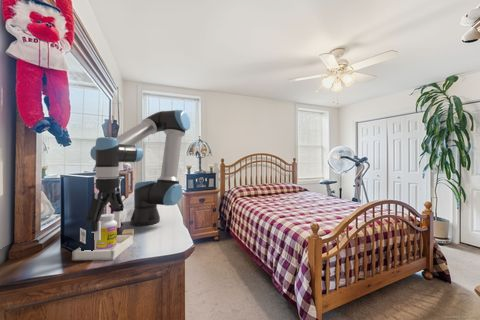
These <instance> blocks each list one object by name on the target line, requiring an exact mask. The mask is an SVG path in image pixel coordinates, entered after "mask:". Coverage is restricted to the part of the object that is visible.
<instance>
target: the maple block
mask: <svg viewBox="0 0 480 320" xmlns="http://www.w3.org/2000/svg"><path fill="white" fill-rule="evenodd" d="M134 234H135V229H134V228H131V229H123V230H122V232H121V235H134ZM134 236H135V235H134Z"/></svg>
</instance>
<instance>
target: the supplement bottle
mask: <svg viewBox="0 0 480 320" xmlns="http://www.w3.org/2000/svg"><path fill="white" fill-rule="evenodd" d="M99 221H101V240H96V250H112V249H114V248H115V247H116V243H117V234H118V233H117V222H116V221H115V220H114V214H110V213H102V215H101V217H100V219H99Z"/></svg>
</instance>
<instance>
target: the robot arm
mask: <svg viewBox="0 0 480 320" xmlns="http://www.w3.org/2000/svg"><path fill="white" fill-rule="evenodd" d="M190 128H191V121H190V117H189V115H188V113H187V112H186V111H184V110H183V109H175V110H161V111H158V112H157V111H156V112H155V113H153V114H151V115H149V116H147V117H146V118H144V119H142V121H141V122H140V123H139V124H137V125H135V126H133V127H132V128H130V129H128V130H127V131H125V132H123V133H121V134H119V135H118V136H116V137H106V136H105V137H103V136H102V137H101V136H100V137H97V138H96V140H95V145H94V146H92V147H91V149H90V152H89V153H90V157H91V158H92V160H93V161H95V189H97V190H98V192H93V193H92V197H91V202H90V206H89V209H88V213H87V217H86V219H85V221H86V223H90V230H91V233H94V240H101V220H100V217H101V215H103V212H104V209H105V208H106V206H107V205H108V203H110V204H111V206H112V207H113V209H114V212H113V214H114V220H115V221H116V222H117V228H120V227H121V223H122V222H121V212H124V208H125V206H124V202H123V198H122V195H121V190H120V188H119V184H120V181H119V178H118V177H120V172H119V171H120V169H119V168H120V167H119V166H120V163H138V162H140V161H141V160H142V159H143V157H144V149H143V148H142V147H141V146H140V145H136V144H138V143H139V142H141V141H142V140H144V139H145V138H147V137H148V136H151V135H154V134H156V133H160V132H163V133H164V134H165V142H164V148H163V157H162V164H161V171H160V172H161V173H160V177H158V178H157V180H146V181H138V182H135V184H134V189H133V190H134V191H133V193H134V194H133V195H134V196H133V198H134V199H133V205H134V207H133V208H134V209H133V212H132V215H131V217H130V225H132V226H135V227H136V226H137V227H139V226H141V227H142V226H143V227H144V226H150V225H155V224H157V223H160V220H161V219H160V218H161V216H160V214H159V213H160V212H159V210H158V205H159V206H165V207H166V206H175V205H177V204H178V203H179V202H180V201H181V199H182V196H183V192H184V191H183V187H182V185H181V184H180V181H179V179H178V173H179V172H178V171H179V163H180V156H181V153H180V152H181V145H182V137H184V136H186V132H187V131H189V129H190ZM110 204H109V205H110ZM121 228H122V227H121ZM91 233H90V234H91Z"/></svg>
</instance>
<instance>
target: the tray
mask: <svg viewBox="0 0 480 320" xmlns="http://www.w3.org/2000/svg"><path fill="white" fill-rule="evenodd" d="M134 237H135V235H122V234H120V235H119V234H118V235H117V243H116V247H115V248H114V249H112V250H96V240H95V250H93V251H91V250H84V251H81V248H80V247H81V246H79V247H78V248H76V249H74V250H73V251H72V255H71V261H114V260H115V259H116V258H117V257H118V256H120V255H121V254H122V253H123V252H124V251H126V249H128V248H129V247H130V246H131V245H133V244H134V242H135V241H134Z"/></svg>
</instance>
